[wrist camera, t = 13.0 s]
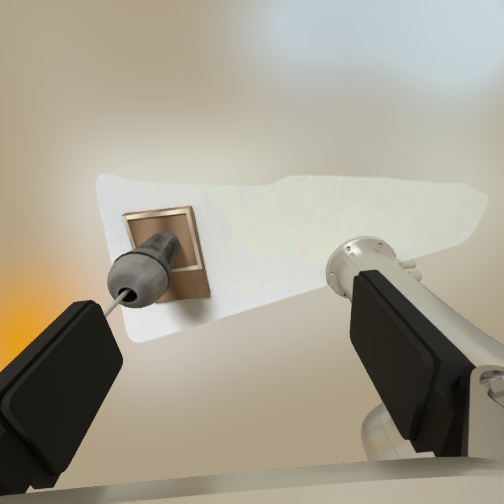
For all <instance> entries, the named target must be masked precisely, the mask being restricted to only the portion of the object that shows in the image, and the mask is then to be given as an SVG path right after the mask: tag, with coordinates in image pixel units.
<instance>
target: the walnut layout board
mask: <svg viewBox="0 0 504 504" xmlns="http://www.w3.org/2000/svg"><path fill="white" fill-rule="evenodd" d="M122 218H123V221H124V224H125V227H126V230H127V233H128V236H129V239H130V242H131V246H132V249H133V250H134V249H135V248H137V247H138V246H139V245H141V244H142V243H143V242H145V241H146V240H147V239H149V238H150V237H152V236H153V235H154V234H157V233H158V232H160V231H169V232H171V233H173V234H174V235H175V236H176V237H177V238H178V240H179V244H180V246H179V250H178V254H177V257H176V259H175V262H174V265H173V268H172V271H171V273H170V282H169V288H168V289H167V291H166V292H165V294H164V295H162V296H161V298H160V299H158V300H157V301H156V302H162V301H171V300H180V299H190V298H199V297H208V296H209V294H210V291H209V286H208V282H207V277H206V272H205V267H204V263H203V258H202V253H201V248H200V244H199V239H198V234H197V229H196V224H195V220H194V215H193V210H192V206H185V207H177V208H168V209H159V210H150V211H141V212H133V213H125V214H124V215H122Z"/></svg>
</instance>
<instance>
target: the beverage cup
mask: <svg viewBox="0 0 504 504" xmlns="http://www.w3.org/2000/svg"><path fill="white" fill-rule="evenodd" d="M179 246H180V244H179V240H178V238H177V237H176V236H175V235H174V234H173V233H171V232H169V231H160V232H158V233H157V234H154V235H153V236H152V237H150V238H149V239H147V240H146V241H145V242H143V243H142V244H141V245H139V246H138V247H137V248H135V249H134V250H132V251H129V252H127V253H125V254H123V255H121V256H120V257H118V258H117V259H116V260H115V262H114V264H113V266H112V268H111V270H110V272H109V274H108V282H107V285H108V289H109V292H110V294H111V296H112V297H113V299H114V300H115V301H114V302H113V303H112V304H111V305H110V306H109V307H108V308H107V309H106V310H105V311H104V312H103V313H104V315H105V318H106V317H107V315H108V314H109V313H110V312H111V311H112V310H113V309H114V308H115V307H116V306H117V304H121V305H123V306H125V307H129V308H143V307H146V306H149V305H151V304H153V303H154V302H156V301H157V300H158V299H160V298H161V296H162V295H164V294H165V292H166V291H167V289H168V288H169V282H170V273H171V271H172V268H173V265H174V262H175V259H176V257H177V254H178V250H179Z"/></svg>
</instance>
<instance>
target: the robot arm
mask: <svg viewBox="0 0 504 504" xmlns="http://www.w3.org/2000/svg"><path fill="white" fill-rule="evenodd" d="M347 246H348V247H347ZM346 247H347V248H346ZM415 267H416V263H415V261H414V260H409V261H403V262H401V261H400V260H398V259H397V258H396V254H395V252H394V251H393V249H392V248H391V247H390V246H389V245H388V244H387V243H386V242H384V241H383V240H381V239H378V238H375V237H358V238H355V239H352V240H350V241H348V242H346V243H344V244H343V245H341V246H340V247H339V248H338V249H337V250H336V251H335V252H334V253H333V254H332V256H331V258H330V259H329V261H328V265H327V269H326V275H327V280H328V283H329V285H330V286H331V288H332V289H333V290H334V291H335V292H336V293H337V294H339V295H340V296H342V297H345V298H349V300H350V301H351V303H352V307H351V321H350V339H351V342H352V344H353V346H354V348H355V350H356V352H357V354H358V356H359V358H360V359H361V361H362V363H363V365H364V367H365V369H366V371H367V373H368V375H369V377H370V378H371V380H372V382H373V384H374V386H375V388H376V390H377V392H378V393H379V395H380V397H381V399H382V401H383V402H382V403H381V404H379V405H378V406H377V407H375V408H374V409H373V410H372V411H371V412H370V413H369V414H368V415H367V416H366V417H365V419H364V421H363V423H362V427H361V439H362V443H363V447H364V450H365V453H366V455H367V458H368V460H369V461H367V462H353V463H342V464H331V465H320V466H308V467H297V468H286V469H274V470H263V471H252V472H241V473H230V474H220V475H209V476H198V477H188V478H177V479H167V480H156V481H146V482H135V483H125V484H115V485H106V486H95V487H86V488H85V487H84V488H75V489H65V490H55V491H45V492H36V493H26V491H27V489H28V488H29V486H30V485H31V486H32V487H33V488H34V489H43V488H52V487H54V485H55V483H56V482H57V480H58V478H59V476H60V474H61V473H62V472H64V471H65V470H66V469H67V468H68V466H69V464H70V462H71V461H72V459H73V457H74V455H75V453H76V451H77V449H78V447H79V446H80V444H81V442H82V440H83V438H84V436H85V434H86V433H87V431H88V429H89V427H90V425H91V423H92V421H93V420H94V418H95V416H96V414H97V412H98V410H99V408H100V406H101V405H102V403H103V401H104V399H105V397H106V395H107V393H108V392H109V390H110V388H111V386H112V384H113V382H114V380H115V379H116V377H117V375H118V373H119V371H120V369H121V367H122V364H123V357H122V354H121V352H120V350H119V347H118V345H117V343H116V341H115V338H114V336H113V334H112V331H111V329H110V327H109V325H108V322H107V320H106V318H105V315H104V313H103V311H102V308H101V306H100V305H99V304H97V303H96V302H94V301H92V300H87V301H78V302H74V303H72V304H71V305H70V306H69V307H68V308H67V309H66V310H65V311H64V312H63V313H62V314H61V315H60V316H59V317H57V318H56V320H54V321H53V322H52V323H51V324H50V325H49V326H48V327H47V328H46V329H45V330H44V331H43V332H42V333H41V334H40V335H39V336H38V337H37V338H36V339H35V340H34V341H33V342H31V343H30V344H29V345H28V346H27V347H26V348H25V349H24V350H23V351H22V352H21V353H20V354H19V355H18V356H17V357H16V358H15V359H14V360H13V361H11V363H9V364H8V365H7V366H6V367H5V368H4V369H3V370H2V371H1V372H0V504H504V344H502V343H501V342H499V341H497V340H496V339H494V338H493V337H491V336H489V335H488V334H487V333H485V332H484V331H482V330H481V329H479V328H478V327H476V326H475V325H473V324H472V323H471V322H469V321H468V320H467V319H465V318H464V317H463V316H461V315H460V314H459V313H458V312H456V311H455V310H453V309H452V308H451V307H450V306H448V305H447V304H446V303H445V302H444V301H442V300H441V299H440V298H439V297H437V296H436V295H435V294H434V293H432V292H431V291H430V290H429V289H427V288H426V287H425V286H424V285H423V284H421V283H420V282H419V281H420V280H421V273H420V272H419V271H408V272H407V271H405V270H404V269H406V268H407V269H409V268H415Z"/></svg>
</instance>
